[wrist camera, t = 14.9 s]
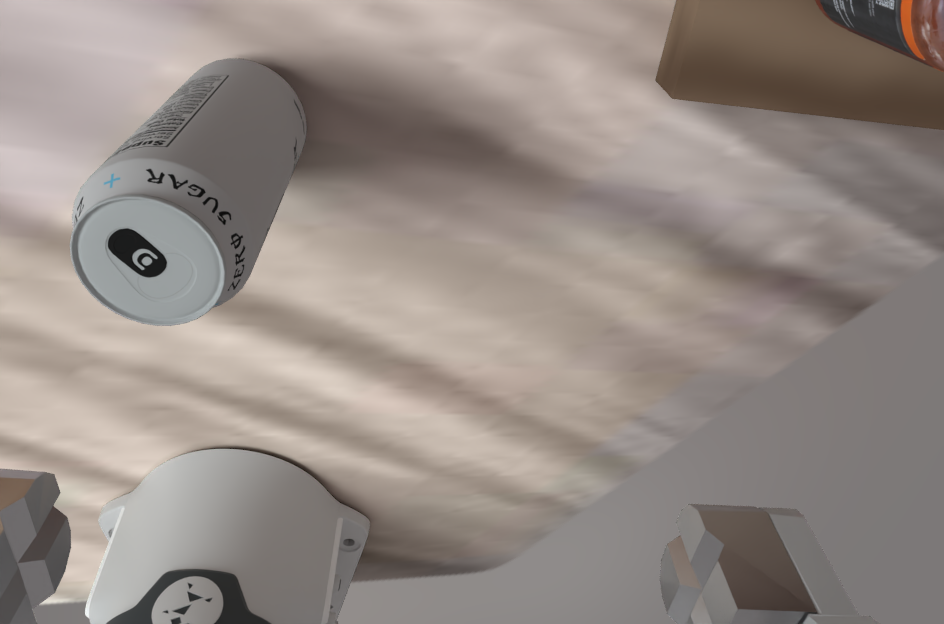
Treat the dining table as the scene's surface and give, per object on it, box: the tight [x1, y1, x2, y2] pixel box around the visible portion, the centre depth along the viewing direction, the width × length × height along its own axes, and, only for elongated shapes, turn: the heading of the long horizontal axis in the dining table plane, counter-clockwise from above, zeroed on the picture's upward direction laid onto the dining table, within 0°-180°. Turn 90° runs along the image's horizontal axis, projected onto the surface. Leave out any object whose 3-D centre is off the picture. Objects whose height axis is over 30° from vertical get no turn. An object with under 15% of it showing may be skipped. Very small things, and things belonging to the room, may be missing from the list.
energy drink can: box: [70, 59, 307, 326], centre depth 29 cm, size 6×6×15 cm
